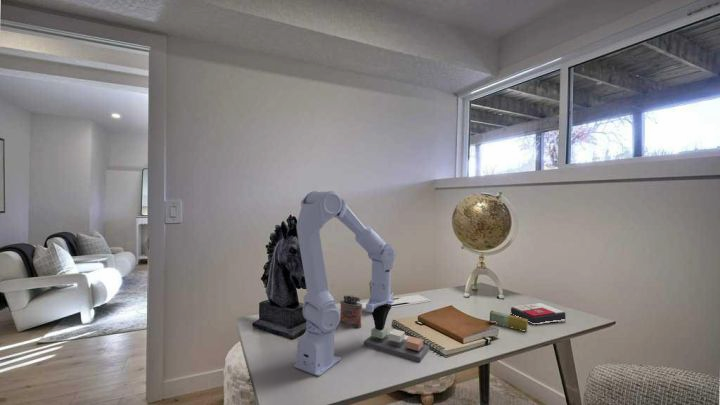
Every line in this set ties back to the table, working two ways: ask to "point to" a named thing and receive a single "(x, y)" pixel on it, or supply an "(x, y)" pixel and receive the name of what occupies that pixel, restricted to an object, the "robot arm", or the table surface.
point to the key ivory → (396, 335)
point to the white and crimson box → (538, 312)
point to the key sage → (379, 332)
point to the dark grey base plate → (396, 348)
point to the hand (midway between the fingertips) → (379, 329)
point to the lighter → (350, 312)
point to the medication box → (509, 320)
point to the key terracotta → (414, 343)
